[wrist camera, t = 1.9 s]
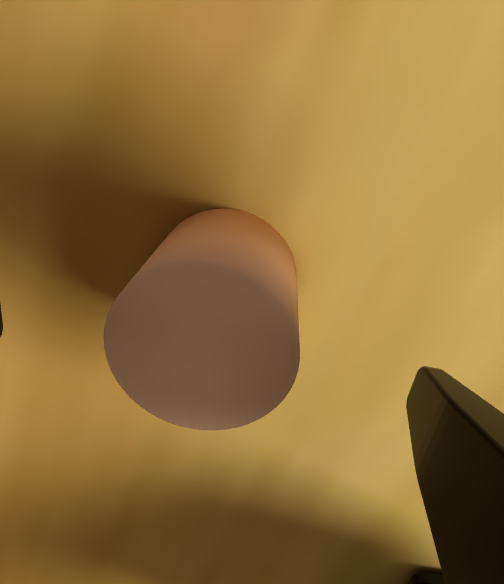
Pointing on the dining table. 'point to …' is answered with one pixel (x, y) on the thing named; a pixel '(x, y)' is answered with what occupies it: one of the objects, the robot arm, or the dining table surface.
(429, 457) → the robot arm
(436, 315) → the dining table surface
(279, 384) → the terracotta dowel
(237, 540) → the dining table surface
